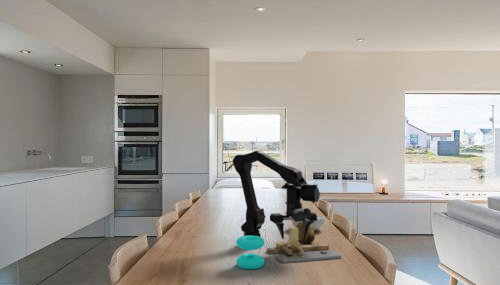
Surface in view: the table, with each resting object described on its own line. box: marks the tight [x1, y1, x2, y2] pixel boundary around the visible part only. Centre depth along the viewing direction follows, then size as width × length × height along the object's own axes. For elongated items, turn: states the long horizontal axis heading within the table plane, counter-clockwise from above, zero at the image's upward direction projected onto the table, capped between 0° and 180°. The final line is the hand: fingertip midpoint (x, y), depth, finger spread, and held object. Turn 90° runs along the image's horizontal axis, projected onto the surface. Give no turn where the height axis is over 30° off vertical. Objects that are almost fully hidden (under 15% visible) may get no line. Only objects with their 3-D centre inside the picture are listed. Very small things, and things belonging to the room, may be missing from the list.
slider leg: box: [286, 226, 305, 254], centre depth 151 cm, size 4×12×8 cm, turn 15°
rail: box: [266, 241, 330, 255], centre depth 152 cm, size 26×12×3 cm, turn 105°
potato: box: [297, 222, 316, 244], centre depth 171 cm, size 8×13×8 cm, turn 172°
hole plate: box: [274, 249, 342, 264], centre depth 146 cm, size 24×8×1 cm, turn 105°
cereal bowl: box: [290, 214, 325, 232], centre depth 193 cm, size 17×17×7 cm
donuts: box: [235, 235, 265, 270], centre depth 136 cm, size 10×10×10 cm
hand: (293, 238), depth 155 cm, fingers open, 9 cm apart
